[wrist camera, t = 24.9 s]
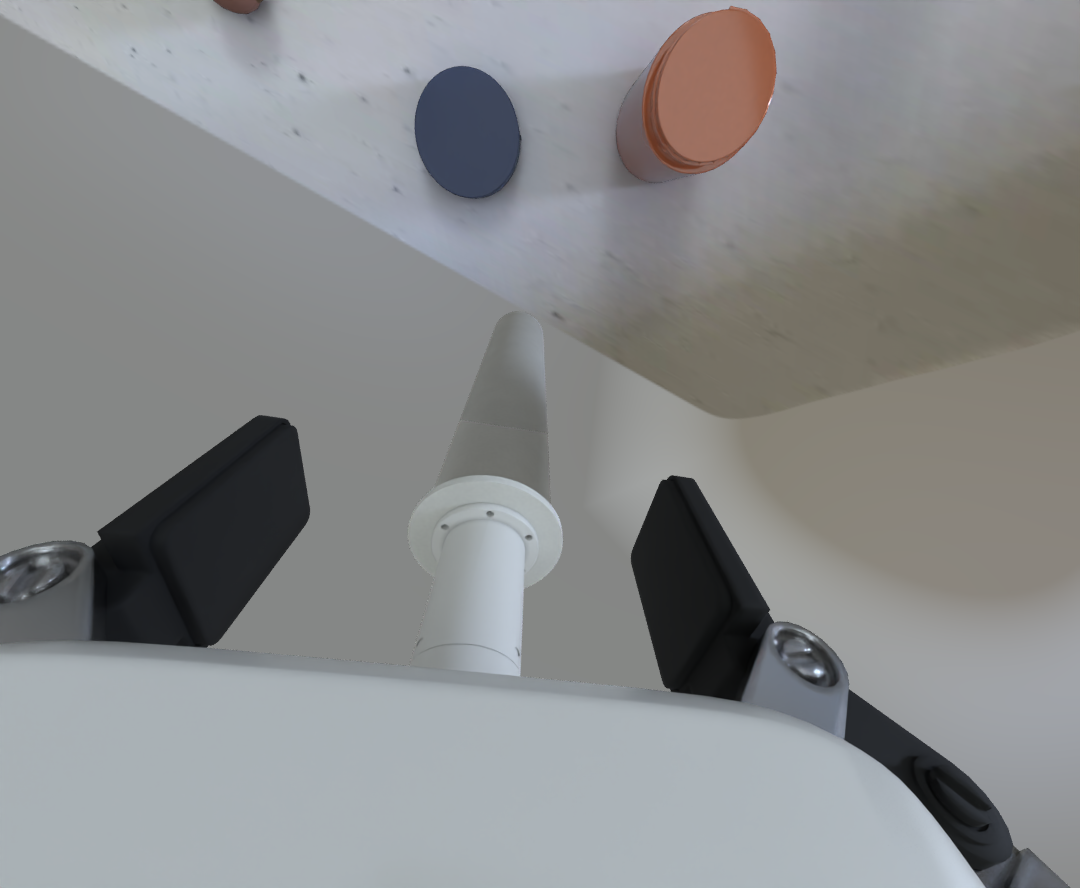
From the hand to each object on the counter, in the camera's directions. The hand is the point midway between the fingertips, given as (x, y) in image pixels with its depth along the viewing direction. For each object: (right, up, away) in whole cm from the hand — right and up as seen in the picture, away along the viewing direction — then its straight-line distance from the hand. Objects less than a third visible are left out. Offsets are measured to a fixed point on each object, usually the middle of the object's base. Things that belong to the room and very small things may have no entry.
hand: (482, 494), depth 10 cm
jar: (+10, +23, +17) cm, 30 cm away
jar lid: (-3, +22, +16) cm, 27 cm away
